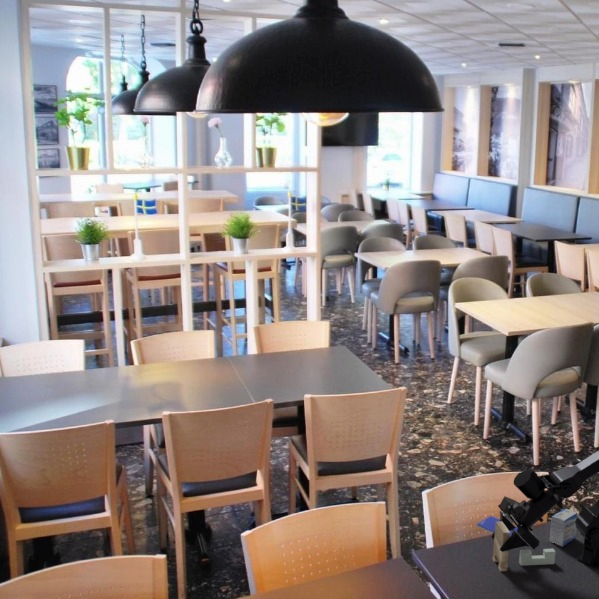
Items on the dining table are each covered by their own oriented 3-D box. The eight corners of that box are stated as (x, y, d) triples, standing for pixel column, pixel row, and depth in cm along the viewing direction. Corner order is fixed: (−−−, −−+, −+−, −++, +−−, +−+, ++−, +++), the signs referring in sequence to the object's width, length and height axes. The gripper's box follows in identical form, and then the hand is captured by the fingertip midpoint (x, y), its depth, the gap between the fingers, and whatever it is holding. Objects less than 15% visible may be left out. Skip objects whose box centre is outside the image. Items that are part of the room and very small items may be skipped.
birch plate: (499, 558, 232) (502, 521, 229) (507, 570, 225) (510, 532, 223) (492, 559, 231) (495, 521, 229) (500, 571, 225) (503, 532, 223)
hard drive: (476, 523, 250) (510, 538, 241) (491, 515, 255) (525, 529, 247) (476, 528, 250) (510, 543, 241) (491, 519, 256) (525, 534, 247)
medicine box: (562, 547, 238) (564, 521, 237) (548, 541, 242) (551, 515, 240) (575, 538, 244) (578, 512, 242) (562, 533, 247) (564, 507, 245)
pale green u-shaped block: (551, 561, 231) (553, 548, 230) (554, 564, 229) (555, 551, 228) (518, 562, 230) (519, 550, 229) (521, 565, 228) (522, 553, 227)
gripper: (507, 475, 233) (468, 511, 234) (531, 505, 215) (489, 544, 216) (530, 499, 235) (492, 534, 236) (557, 530, 217) (515, 568, 218)
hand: (496, 544), depth 227 cm, fingers closed on birch plate, 6 cm apart
